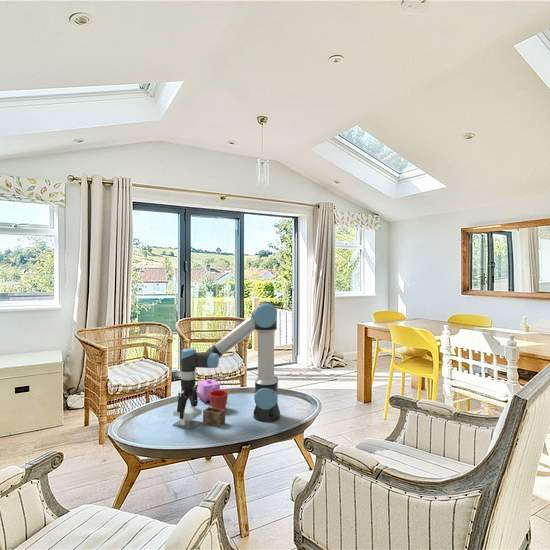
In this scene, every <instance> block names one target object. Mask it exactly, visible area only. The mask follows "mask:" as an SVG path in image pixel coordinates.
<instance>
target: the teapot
mask: <svg viewBox="0 0 550 550" xmlns="http://www.w3.org/2000/svg"><path fill="white" fill-rule="evenodd" d="M197 382H198V383H197V397H199V398H200V400H202V402H203V403H204V404H205V403H208V401H210V397H209V393H210V392H212V391H216V390H220V389H221V387H220V386H221V384H220V383H219V382H218V381H216V380H215V379H214V378H213V379H211V378H210V379H209V378H208V379H205V380H198V381H197Z"/></svg>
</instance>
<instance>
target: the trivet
mask: <svg viewBox="0 0 550 550" xmlns="http://www.w3.org/2000/svg"><path fill="white" fill-rule="evenodd" d="M202 424H203V421H199V420H195V419H192V420H189V419H185V425H181V424H180V419H179V420H177V421H176V422H175V423H173V424H172V426H173V427H177V428H183V429H188V430H193V429H195V428H197V427H198V426H199V425H202Z"/></svg>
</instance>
